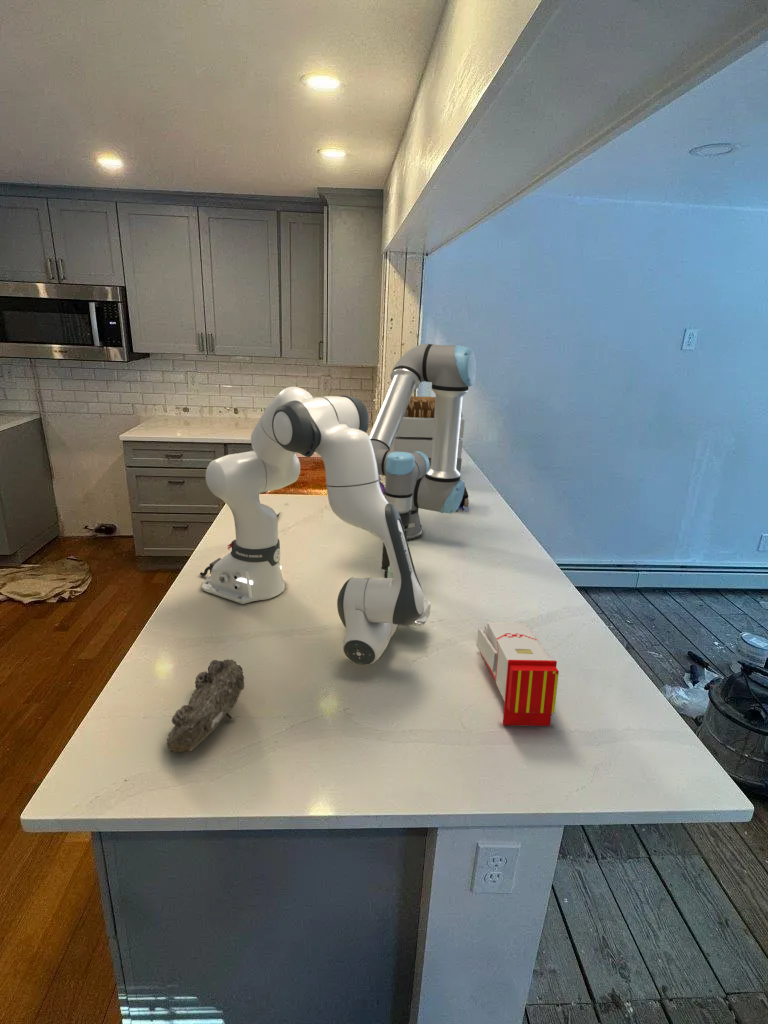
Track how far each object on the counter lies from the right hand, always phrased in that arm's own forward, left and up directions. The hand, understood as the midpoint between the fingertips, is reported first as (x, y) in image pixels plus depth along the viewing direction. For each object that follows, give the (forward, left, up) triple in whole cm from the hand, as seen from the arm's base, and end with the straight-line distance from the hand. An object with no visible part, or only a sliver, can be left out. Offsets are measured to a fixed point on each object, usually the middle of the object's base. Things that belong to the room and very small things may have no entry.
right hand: (392, 585), depth 162 cm
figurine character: (-36, +67, 0) cm, 77 cm away
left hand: (+12, -10, +6) cm, 17 cm away
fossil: (+20, -64, 0) cm, 67 cm away
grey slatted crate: (-81, +89, 0) cm, 120 cm away
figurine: (-61, +44, 0) cm, 76 cm away
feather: (-67, +2, 0) cm, 67 cm away
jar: (+13, -10, 0) cm, 16 cm away
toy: (+49, -10, 0) cm, 50 cm away
